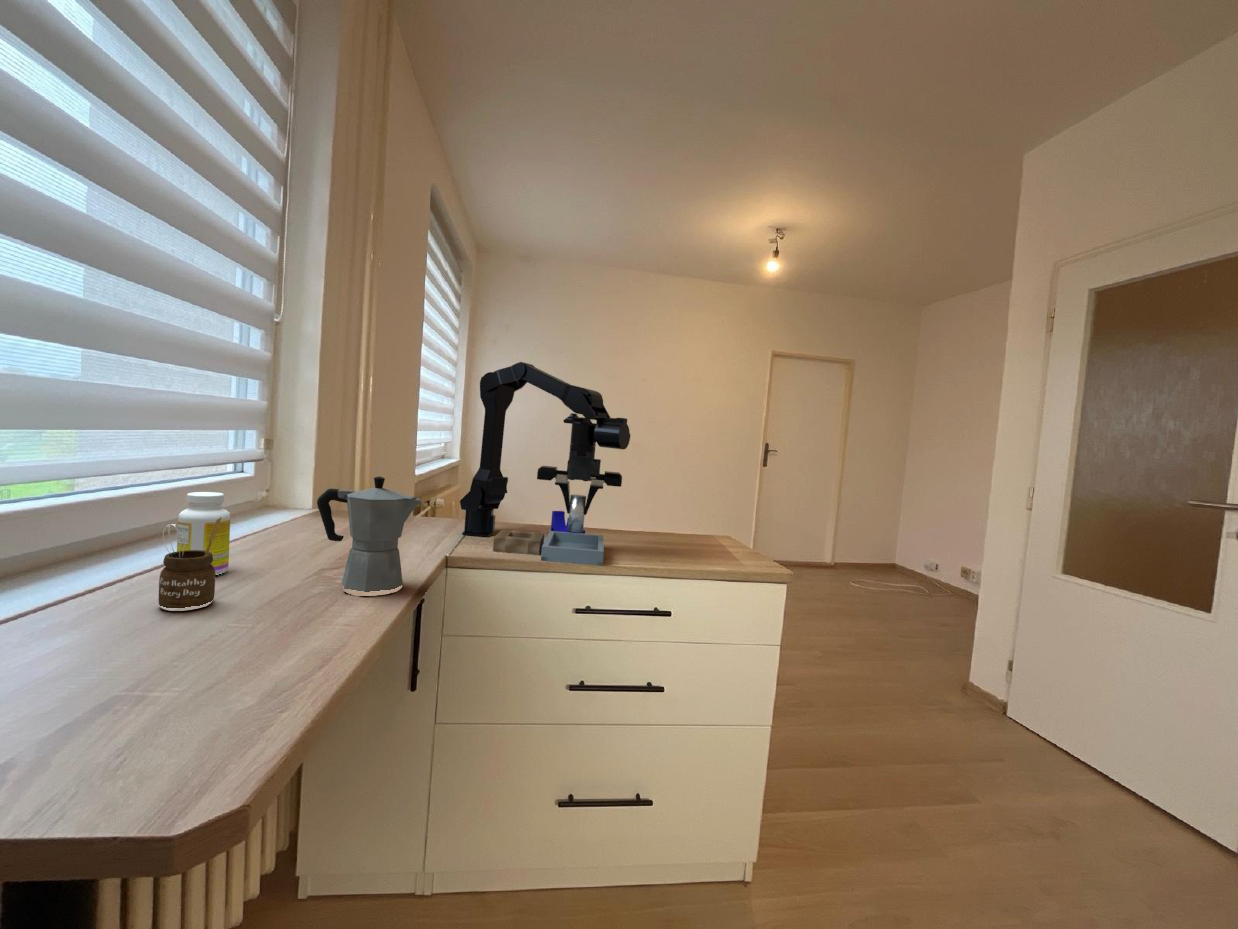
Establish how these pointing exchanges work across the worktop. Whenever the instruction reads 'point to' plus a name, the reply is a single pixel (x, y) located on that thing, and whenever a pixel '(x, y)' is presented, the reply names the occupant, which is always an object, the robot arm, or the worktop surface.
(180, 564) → the utensil holder
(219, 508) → the supplement bottle
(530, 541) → the socket block
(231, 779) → the worktop surface
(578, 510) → the silver metal cylinder
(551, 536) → the tray
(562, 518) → the cable clip
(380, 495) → the coffeepot
